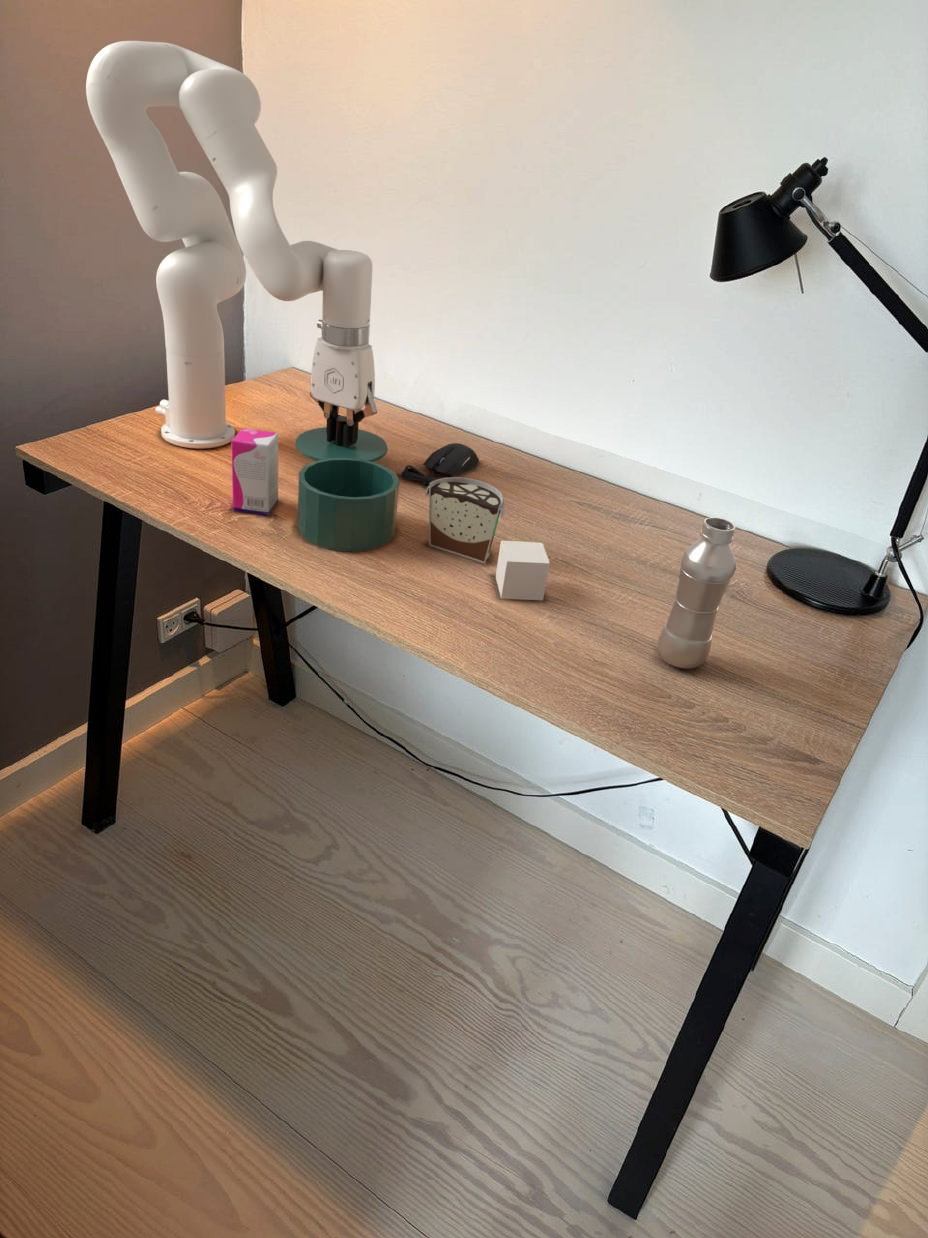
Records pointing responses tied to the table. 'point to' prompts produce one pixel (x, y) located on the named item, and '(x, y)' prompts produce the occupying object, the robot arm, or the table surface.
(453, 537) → the food container
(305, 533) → the tin
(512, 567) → the white cube
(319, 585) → the table surface
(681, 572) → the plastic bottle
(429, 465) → the computer mouse
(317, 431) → the tin lid
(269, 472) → the supplement box
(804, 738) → the table surface
